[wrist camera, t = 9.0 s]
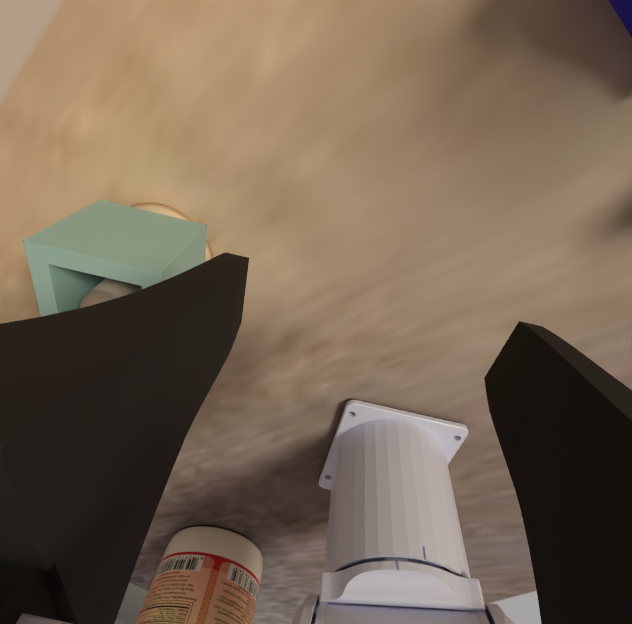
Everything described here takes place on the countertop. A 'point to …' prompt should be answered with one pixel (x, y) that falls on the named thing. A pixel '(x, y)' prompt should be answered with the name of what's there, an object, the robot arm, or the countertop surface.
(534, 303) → the countertop surface
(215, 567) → the fruit juice
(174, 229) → the green hollow cube
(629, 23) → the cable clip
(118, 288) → the spindle
